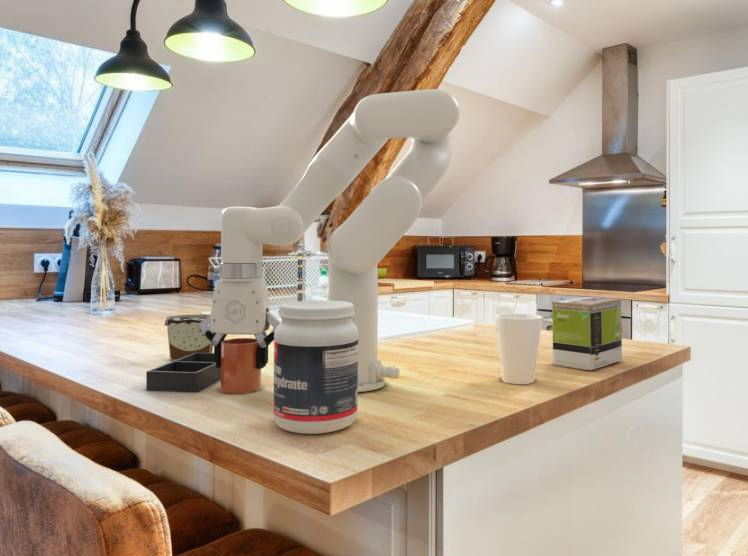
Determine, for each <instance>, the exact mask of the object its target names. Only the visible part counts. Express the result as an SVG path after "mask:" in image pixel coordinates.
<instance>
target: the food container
mask: <svg viewBox="0 0 748 556" xmlns="http://www.w3.org/2000/svg"><path fill="white" fill-rule="evenodd" d="M209 315H210V314H177V315H170V316H166V319H165V320H164V327H166V329H167V340H168V341H167V342H168V350H169V361H170V362H172V361H175V360H177V359H180V358H183V357H185V356H188V355H190V354H193V353H213V351H214V346H213V345H212V344H211V341H210V340H209V339H208V338H207V337H206V336H205V333H204V332H203V331H202V330H201V328H200V327H199V323H200V322H202V321H203V320H204V319H205V318H207V317H208V316H209ZM210 327H211V324H210Z"/></svg>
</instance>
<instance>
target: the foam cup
mask: <svg viewBox="0 0 748 556" xmlns="http://www.w3.org/2000/svg"><path fill="white" fill-rule="evenodd" d="M494 328H495V331H496V340H497V347H498V357H499V366H500V374H501V379H502V380H501V381H502V382H504V383H507V384H512V385H529V384H532V383H534V380H535V375H536V369H537V368H536V367H537V361H538V353H539V345H540V340H541V339H540V338H541V332H542V331H541V330H543V317H542V315H538V314H532V313H521V312H520V313H518V312H516V313H513V312H511V313H498V314H497V313H496V314H495V315H494Z"/></svg>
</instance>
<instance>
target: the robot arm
mask: <svg viewBox="0 0 748 556" xmlns="http://www.w3.org/2000/svg"><path fill="white" fill-rule="evenodd" d="M459 118H460V106H459V103H458V101H457V100H456V98H455V97H454V95H452V94H451V93H449V92H448V91H445V90H443V89H438V88H428V89H427V88H426V89H415V90H406V91H394V92H383V93H382V92H381V93H375V94H374V93H373V94H370V95H367V96H365V97H363V98H362V99H360V100H359V101H358V102H357V104H356V105H355V107H354V110H353V112H352V113H351V114H350V116H349V117H348V118H347V119H346V120H345V121H344V123H343V124H342V125H341V126H340V127H339V129H338V130H337V131H336V132H335V133H334V135H332V137H331V138H330V139H329V140H328V141H327V142H326V143H325V144H324V145H323V147H322V148H320V150H319V151H318V152H317V153H316V154H315V156H314V157H313V158H312V159H311V162H310V163H309V164H308V167H307V169H306V171H305V172H304V174H303V176H302V177H301V179H300V180H299V181H298V183H297V184H296V185H295V186H294V188H293V189H292V190H291V191H290V192H289V194H288V195H286V197H285V198H284V199H283V200H282V201H281V202H280V204H279V205H277V206H269V207H259V208H258V207H254V206H229V207H225V208H224V209H223V210H222V211H221V216H220V217H221V218H220V245H221V246H220V263H219V265H215V266H214V267H213V268H214V269H213V272H214V274H219V277H220V279H217V280H215V285H214V288H213V290H214V291H213V295H212V300H211V309H210V310H211V311H210V314H208V315H209V316H208V317H207V318H205V319H204V320H203V321H202V322H200V323H199V327H200V328H201V330H202V331H203V332H204V333H205V336H206V337H207V338H208V339H209V340H210V341H211V344H212V345H213V353H214V362H216V368H220V367H221V341H223V340H226V338H227V337H228V335H242V336H243V335H244V336H246V335H247V336H254V338H255V339H256V340H257V341H258V343H259V347H258V348H257V358H256V368H257V369H261V370H262V369H263V368H265V367H266V366H267V364H268V363H269V346H270V345H271V344H272V342H274V333H275V330H276V328H277V326H278V325H279V324H280V323H281V322H282V321H280V320H279V319H278V318H276V317H275V316H274V315H273V314H272V313H271V311H270V310H271V309H270V297H269V290H268V286H267V281H266V279H263V258H264V257H263V256H264V255H263V253H264V252H263V248H264V245H270V246H275V247H276V246H277V247H289V246H291V245H293V244H295V243H297V242H298V241H299V240H300V239H301V238H302V237H303V236H304V234H305V233H306V232H307V231H308V229H310V227H311V226H312V225H313V224H314V223H315V221H316V220H317V219H318V218H319V217H320V216H321V215H322V213H323V212H324V211H325V210H326V209H327V208H328V207H329V206H330V205H331V203H332V202H333V201H334V200H336V199H337V198H338V197H339V196H340V195H342V194H343V193H344V191H345V190H347V188H348V187H349V186H350V185H351V184H352V182H353V181H354V180H355V179H356V178H357V177H358V175H360V173H361V172H362V171H363V170H364V168H366V166H368V164H369V163H370V161H372V160H373V158H374V157H375V156H376V155H377V154H378V153H379V151H380V150H381V149H382V148H383V147H384V145H386V143H387V142H388V141H389V140H390V139H407V138H410V140H411V144H410V147H409V149H408V150H407V152H406V153H405V155H404V156H403V157H402V158H401V159H400V160H399V162H398V163H397V164H396V166H394V168H393V169H392V170H391V171H390V172H389V173H388V174H387V175H386V176H385V177H384V178H383V180H381V181H379V182H378V183H377V184H375V186H374V187H372V189H371V191H370V192H369V194H368V195H367V196H366V197H365V198H364V200H362V201H361V203H360V204H359V205H358V206H357V207H356V208H355V209H354V211H353V212H352V213H351V214H350V215H349V216H348V217H347V218H346V219H345V220H344V221H343V223H342V224H340V225H339V226H337V227H336V228H335V229H334V230H333V231H332V233H331V235H330V237H329V240H328V245H327V262H328V267H327V268H328V301H344V302H350V303H353V304H354V313H355V315H354V316H352V322H353V323H354V324H355V325H356V327H357V329H358V334H359V336H358V393H364V392H365V393H366V392H372V391H375V390H379V389H381V388H383V387H384V386H385V385H386V379H385V378H387V379H399V378H400V375H401V374H400V370H401V369H400V368H399V367H396V366H384V364H382V359H378V327H379V325H378V322H379V321H378V317H379V315H378V313H379V312H378V311H379V307H378V305H379V275H378V272H379V271H378V264H379V263H380V262H381V261H382V260H383V259H384V258H385V257H386V255H388V253H389V252H390V251H391V250H392V249H393V248H394V247H395V245H397V243H398V242H399V241H400V240H401V239H402V237H403V236H405V234H406V233H407V232H408V231H409V230H410V228H411V227H412V226H413V224H414V223H416V221H417V220H418V218H419V216H420V214H421V211H422V208H423V201H424V200H425V199H426V198H427V197H428V196H429V194H431V192H432V191H433V189H434V188H435V187H436V186H437V185H438V184H439V182H441V179H442V178H443V177H444V175H445V174H446V172H447V170H448V169H449V166H450V164H451V160H452V153H453V144H452V137H451V134H450V133H451V132H452V131H453V129H455V127H456V126H457V124H458V122H459ZM210 324H211V327H210ZM270 326H272V329H271V332H269V333H268V332H267V331H268V330H269V329H270Z"/></svg>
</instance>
